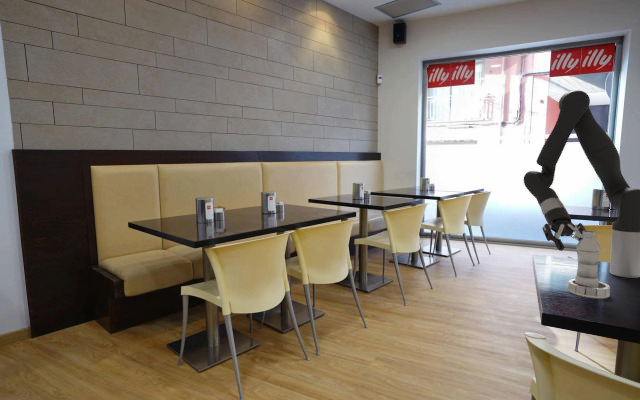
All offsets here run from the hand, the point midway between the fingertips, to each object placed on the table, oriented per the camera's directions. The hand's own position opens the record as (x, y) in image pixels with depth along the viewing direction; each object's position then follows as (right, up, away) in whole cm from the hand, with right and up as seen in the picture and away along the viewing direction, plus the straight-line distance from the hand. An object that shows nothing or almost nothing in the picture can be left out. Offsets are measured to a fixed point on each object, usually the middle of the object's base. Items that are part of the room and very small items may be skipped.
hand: (574, 249), depth 132 cm
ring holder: (0, -14, -6) cm, 15 cm away
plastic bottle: (0, -13, -6) cm, 14 cm away
